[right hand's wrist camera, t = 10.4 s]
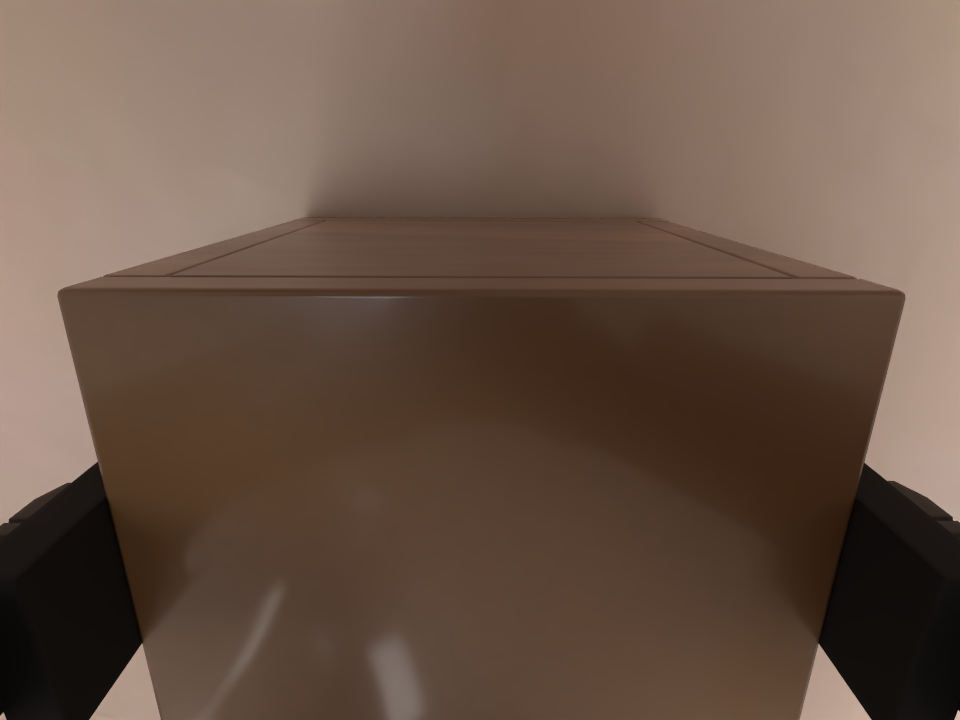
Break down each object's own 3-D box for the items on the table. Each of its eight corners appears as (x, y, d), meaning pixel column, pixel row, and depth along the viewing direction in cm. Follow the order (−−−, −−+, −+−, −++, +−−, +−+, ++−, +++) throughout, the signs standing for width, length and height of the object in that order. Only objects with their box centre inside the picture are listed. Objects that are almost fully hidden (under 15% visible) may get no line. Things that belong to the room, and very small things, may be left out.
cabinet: (606, 733, 24) (696, 1136, 14) (352, 732, 24) (260, 1134, 14) (659, 218, 17) (911, 291, 7) (302, 217, 17) (51, 288, 7)
